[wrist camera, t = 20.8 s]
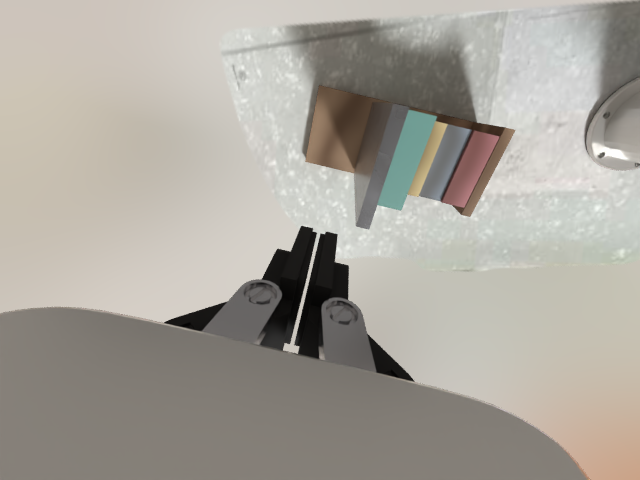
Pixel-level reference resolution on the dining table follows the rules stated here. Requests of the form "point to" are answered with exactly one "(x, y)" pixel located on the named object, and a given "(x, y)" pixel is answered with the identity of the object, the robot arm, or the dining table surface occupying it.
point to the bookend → (376, 157)
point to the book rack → (438, 157)
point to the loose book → (406, 159)
